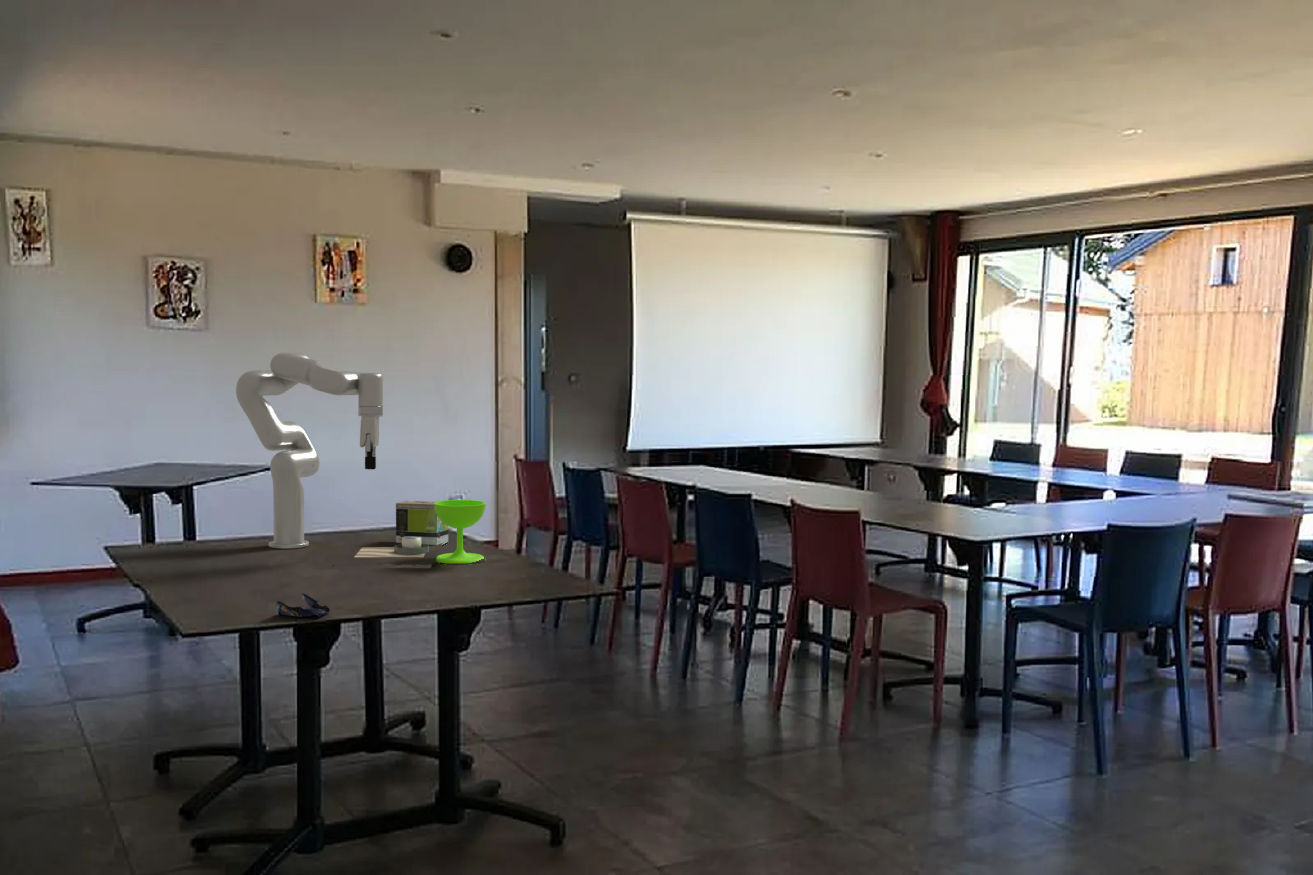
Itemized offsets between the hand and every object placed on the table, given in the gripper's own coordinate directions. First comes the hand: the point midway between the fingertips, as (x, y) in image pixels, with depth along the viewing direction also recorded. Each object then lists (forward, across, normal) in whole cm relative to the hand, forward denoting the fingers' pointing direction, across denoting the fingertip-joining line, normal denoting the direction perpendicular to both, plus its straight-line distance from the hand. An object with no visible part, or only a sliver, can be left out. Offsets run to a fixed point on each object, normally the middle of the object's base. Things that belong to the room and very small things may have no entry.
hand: (370, 469), depth 347 cm
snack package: (+28, +87, -4) cm, 91 cm away
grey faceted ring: (+26, +5, +14) cm, 30 cm away
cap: (+26, +5, +14) cm, 30 cm away
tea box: (+27, -16, +15) cm, 35 cm away
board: (+27, +5, +8) cm, 29 cm away
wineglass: (+27, +13, +29) cm, 42 cm away
